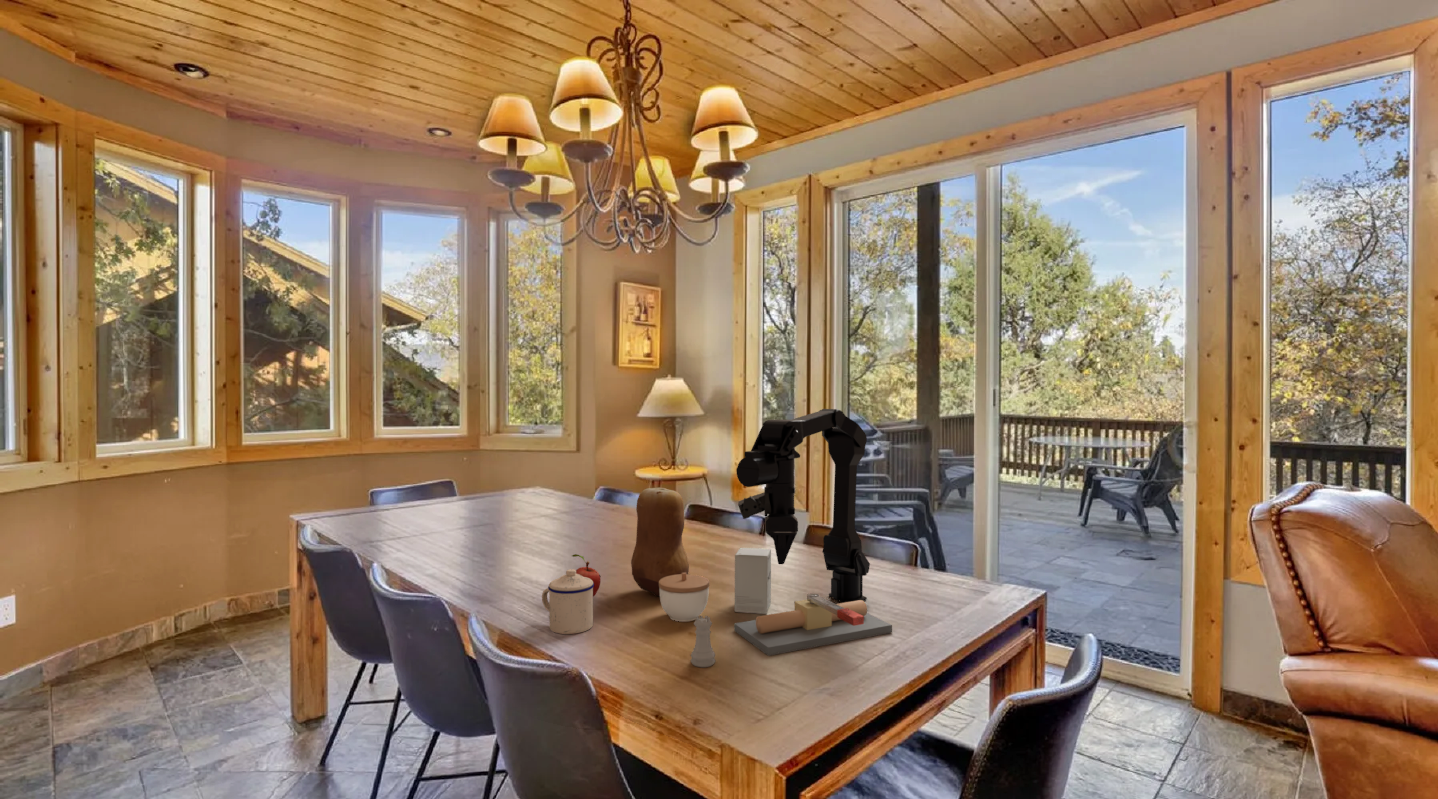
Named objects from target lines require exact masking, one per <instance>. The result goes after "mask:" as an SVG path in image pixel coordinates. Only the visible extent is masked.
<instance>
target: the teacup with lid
mask: <svg viewBox="0 0 1438 799" xmlns="http://www.w3.org/2000/svg"><path fill="white" fill-rule="evenodd" d="M576 570H577V569H573V568H571V569H567V570H566V571H565V574H563V575H561V576H560V577H559V578H555V579H553V580H551V581H550V582H549V584H548V587H547V588H545V589H544V590H543V591H542V592H541V602H542V605H543V607H544V609H546V611H547V612H549V630H550V631H551V632H553V633H556V634H560V635H574V634H581V633H584V632H586V631H588V630H590V629H591V628H592V627H593V625H594V597H593V587H594V583H593V581H592V580H591V579H590V578H587V577H583V576H581V575H579V574H576ZM548 593H549V596H548ZM548 597H549V600H548Z"/></svg>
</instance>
